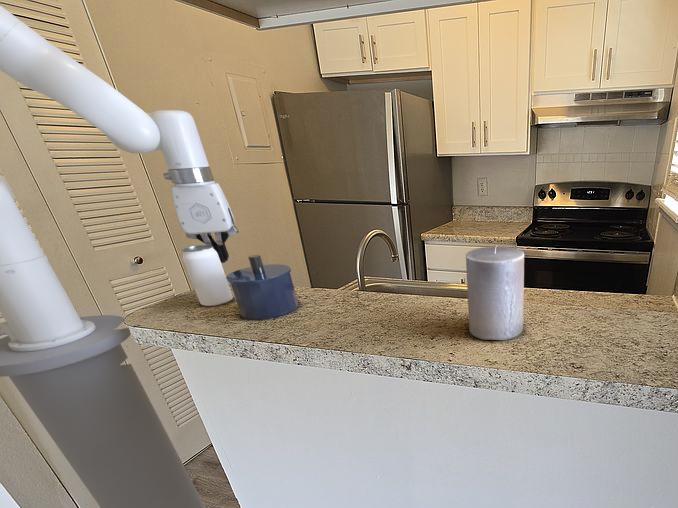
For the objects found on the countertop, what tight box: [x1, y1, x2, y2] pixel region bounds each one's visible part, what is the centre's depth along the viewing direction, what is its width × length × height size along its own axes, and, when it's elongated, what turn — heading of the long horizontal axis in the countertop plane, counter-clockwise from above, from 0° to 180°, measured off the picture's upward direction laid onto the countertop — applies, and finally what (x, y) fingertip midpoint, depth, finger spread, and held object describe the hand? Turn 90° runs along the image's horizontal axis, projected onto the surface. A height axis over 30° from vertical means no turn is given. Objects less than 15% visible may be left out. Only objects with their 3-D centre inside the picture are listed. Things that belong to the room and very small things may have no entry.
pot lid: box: [225, 254, 292, 284], centre depth 81 cm, size 12×12×4 cm
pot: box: [229, 272, 299, 321], centre depth 83 cm, size 11×11×8 cm
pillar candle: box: [465, 244, 525, 341], centre depth 69 cm, size 10×10×15 cm
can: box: [181, 244, 234, 307], centre depth 88 cm, size 6×6×12 cm
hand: (222, 261), depth 96 cm, fingers closed
